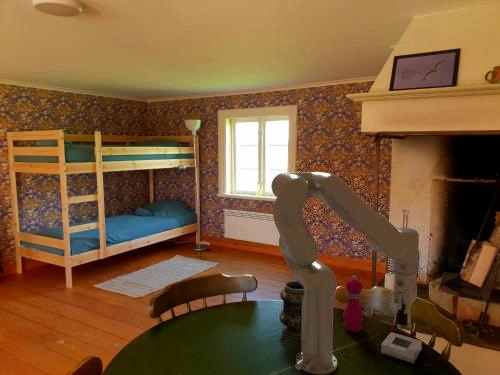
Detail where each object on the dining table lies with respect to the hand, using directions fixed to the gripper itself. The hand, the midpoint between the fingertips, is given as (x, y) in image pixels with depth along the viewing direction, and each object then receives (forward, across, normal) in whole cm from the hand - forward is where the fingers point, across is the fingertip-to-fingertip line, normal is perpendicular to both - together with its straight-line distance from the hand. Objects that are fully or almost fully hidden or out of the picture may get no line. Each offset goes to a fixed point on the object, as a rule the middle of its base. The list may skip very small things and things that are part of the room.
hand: (404, 321), depth 121 cm
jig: (+10, -1, 0) cm, 10 cm away
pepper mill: (+10, +5, +20) cm, 23 cm away
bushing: (+2, 0, 0) cm, 2 cm away
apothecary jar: (+10, -11, +34) cm, 37 cm away
